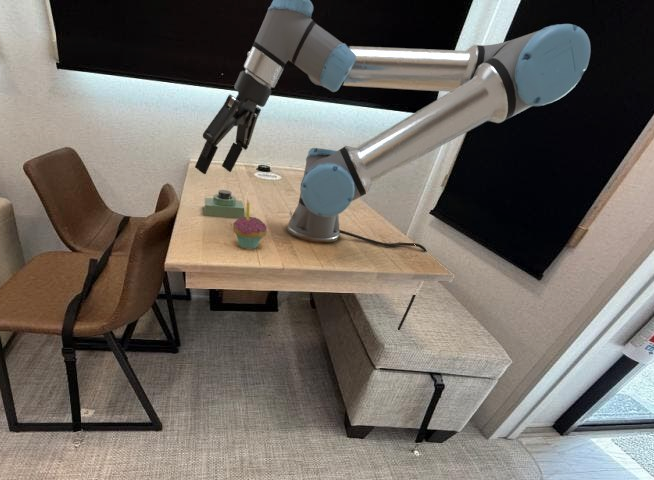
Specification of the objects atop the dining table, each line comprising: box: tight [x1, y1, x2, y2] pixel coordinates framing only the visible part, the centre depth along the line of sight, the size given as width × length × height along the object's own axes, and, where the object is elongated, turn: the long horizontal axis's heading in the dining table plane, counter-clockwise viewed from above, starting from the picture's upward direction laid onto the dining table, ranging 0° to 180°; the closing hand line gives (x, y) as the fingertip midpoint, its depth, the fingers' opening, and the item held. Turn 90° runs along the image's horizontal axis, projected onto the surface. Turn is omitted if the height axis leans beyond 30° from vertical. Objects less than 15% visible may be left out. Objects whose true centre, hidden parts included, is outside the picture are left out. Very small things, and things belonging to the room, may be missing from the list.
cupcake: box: [232, 198, 268, 250], centre depth 81 cm, size 9×8×12 cm
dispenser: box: [204, 193, 245, 219], centre depth 103 cm, size 12×8×5 cm, turn 97°
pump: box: [217, 189, 232, 199], centre depth 101 cm, size 4×4×2 cm
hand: (214, 169), depth 80 cm, fingers open, 13 cm apart
